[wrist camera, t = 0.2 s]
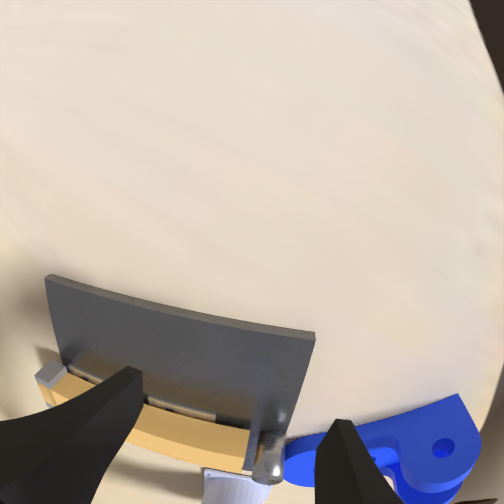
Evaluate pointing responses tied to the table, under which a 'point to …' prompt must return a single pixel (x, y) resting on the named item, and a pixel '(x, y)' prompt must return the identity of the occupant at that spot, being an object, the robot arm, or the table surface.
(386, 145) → the table surface
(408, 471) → the bracket
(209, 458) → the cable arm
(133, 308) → the panel
